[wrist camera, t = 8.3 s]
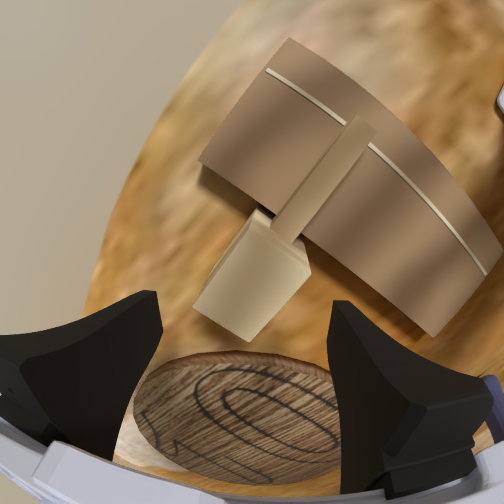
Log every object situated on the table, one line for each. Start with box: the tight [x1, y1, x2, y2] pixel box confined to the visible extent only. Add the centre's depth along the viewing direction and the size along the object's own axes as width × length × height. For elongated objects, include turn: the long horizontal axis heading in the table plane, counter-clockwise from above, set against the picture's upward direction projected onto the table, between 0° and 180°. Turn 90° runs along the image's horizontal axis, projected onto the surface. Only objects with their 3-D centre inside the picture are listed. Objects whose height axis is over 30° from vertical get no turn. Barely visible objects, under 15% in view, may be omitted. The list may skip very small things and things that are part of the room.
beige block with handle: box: [193, 114, 377, 342], centre depth 15 cm, size 4×14×6 cm, turn 145°
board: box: [198, 37, 504, 338], centre depth 16 cm, size 21×9×2 cm, turn 55°
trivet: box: [133, 350, 341, 485], centre depth 25 cm, size 25×25×2 cm
